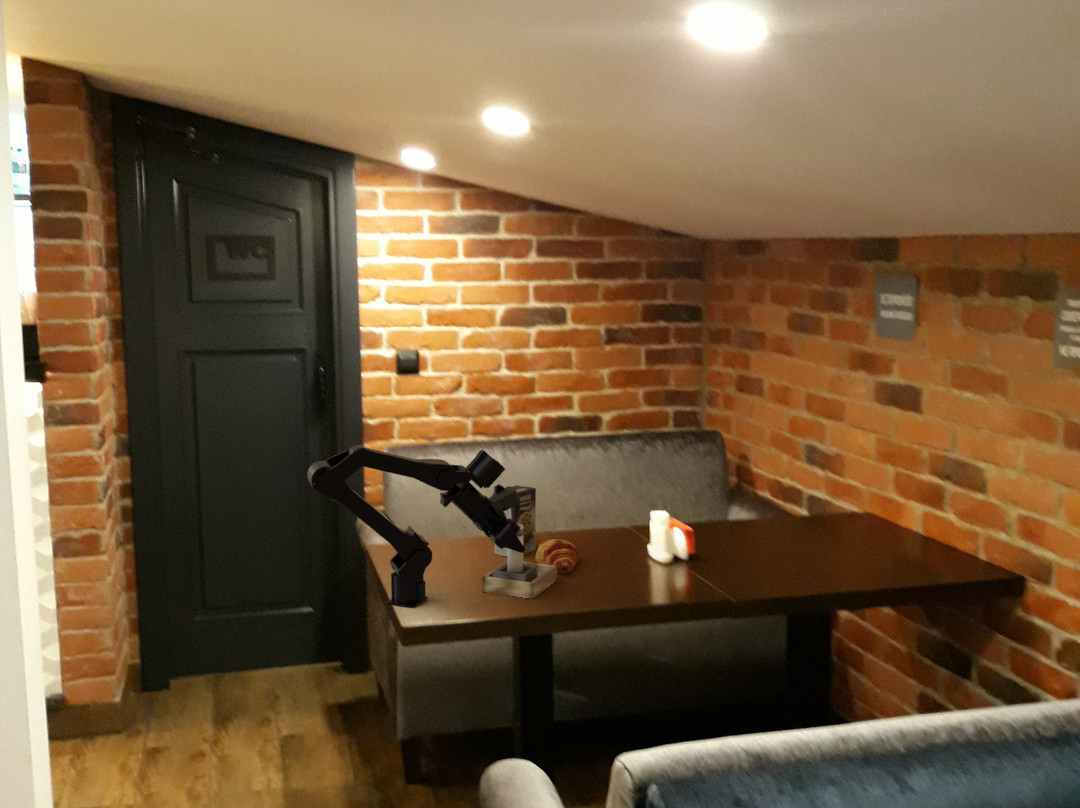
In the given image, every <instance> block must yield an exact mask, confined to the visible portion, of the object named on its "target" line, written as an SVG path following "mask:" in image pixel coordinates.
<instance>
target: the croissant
mask: <svg viewBox="0 0 1080 808" xmlns="http://www.w3.org/2000/svg"><path fill="white" fill-rule="evenodd" d="M578 556H579V550H578V548H577V547H576V546H575V545H574V544H573V543H572V542H570V541H567V540H564V539H552V538H551V539H549V538H548V539H545V540H543V541H541V543H539V545H538V547H537V550H536V553H535V559H534V560H535V562H536V563H537V564H545V565H552V566H557V574H561V575H562V574H567V573H570V572H572V571H573V569H574V568H575V566H576V564H577V562H578V561H577V560H578Z"/></svg>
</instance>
